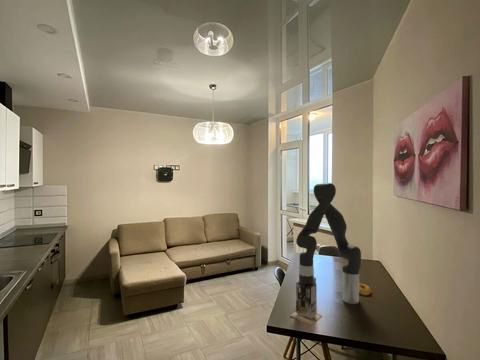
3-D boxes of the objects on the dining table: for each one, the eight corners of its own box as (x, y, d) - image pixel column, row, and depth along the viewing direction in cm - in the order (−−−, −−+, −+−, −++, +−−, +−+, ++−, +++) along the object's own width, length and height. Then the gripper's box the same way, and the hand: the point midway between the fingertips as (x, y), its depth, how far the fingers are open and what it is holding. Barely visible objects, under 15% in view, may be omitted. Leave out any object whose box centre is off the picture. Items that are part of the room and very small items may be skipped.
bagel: (357, 295, 162) (357, 288, 162) (352, 288, 173) (352, 281, 173) (374, 296, 160) (374, 289, 160) (367, 289, 171) (367, 282, 171)
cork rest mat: (301, 308, 145) (301, 307, 145) (321, 316, 137) (321, 314, 137) (290, 316, 136) (290, 315, 136) (310, 325, 128) (310, 324, 128)
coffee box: (317, 314, 136) (317, 283, 136) (311, 319, 131) (311, 287, 131) (301, 308, 142) (301, 279, 142) (295, 313, 137) (295, 282, 137)
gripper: (306, 267, 144) (306, 297, 144) (292, 274, 134) (292, 306, 134) (319, 271, 139) (319, 302, 139) (305, 278, 129) (305, 311, 129)
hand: (306, 304), depth 136 cm, fingers closed on coffee box, 6 cm apart
